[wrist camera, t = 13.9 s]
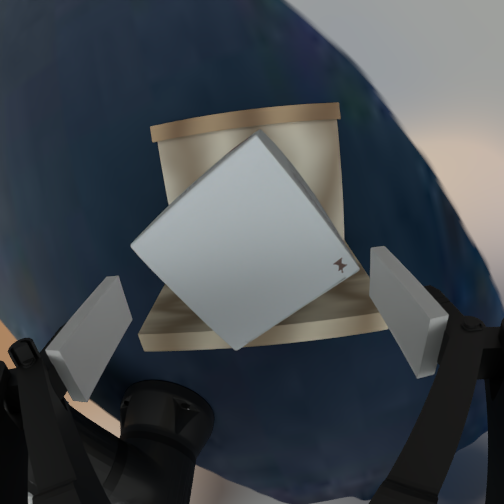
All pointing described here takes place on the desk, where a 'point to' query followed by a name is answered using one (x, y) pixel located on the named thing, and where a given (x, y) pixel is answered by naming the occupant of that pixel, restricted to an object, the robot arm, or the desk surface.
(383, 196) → the desk surface
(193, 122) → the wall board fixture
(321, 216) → the supplement box
